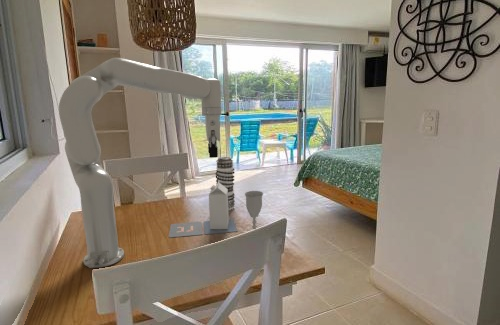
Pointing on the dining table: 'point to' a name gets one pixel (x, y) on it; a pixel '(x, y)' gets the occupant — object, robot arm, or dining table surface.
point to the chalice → (254, 204)
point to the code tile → (185, 229)
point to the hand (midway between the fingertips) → (212, 155)
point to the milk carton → (218, 207)
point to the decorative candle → (226, 177)
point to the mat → (214, 231)
